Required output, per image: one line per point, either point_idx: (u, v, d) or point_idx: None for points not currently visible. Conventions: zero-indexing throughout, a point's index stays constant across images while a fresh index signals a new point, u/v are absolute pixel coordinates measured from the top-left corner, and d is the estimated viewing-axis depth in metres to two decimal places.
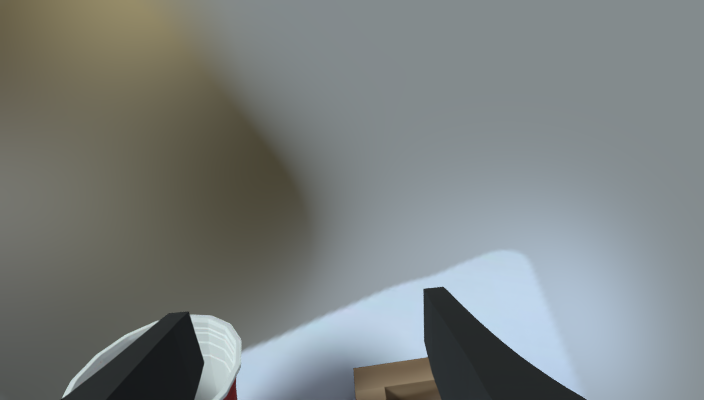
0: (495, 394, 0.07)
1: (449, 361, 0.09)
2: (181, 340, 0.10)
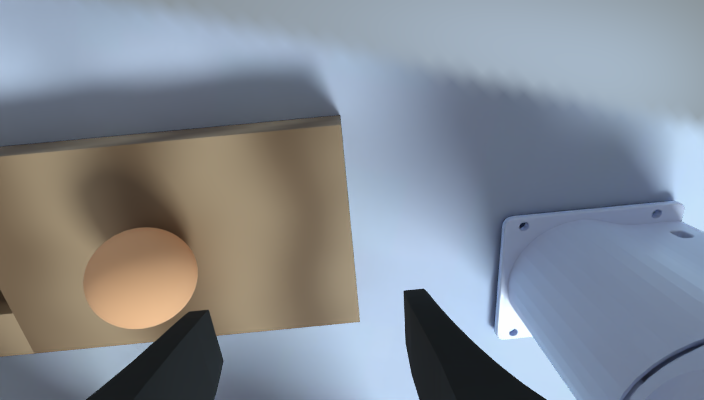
0: (462, 397, 0.07)
1: (425, 363, 0.09)
2: (202, 338, 0.10)
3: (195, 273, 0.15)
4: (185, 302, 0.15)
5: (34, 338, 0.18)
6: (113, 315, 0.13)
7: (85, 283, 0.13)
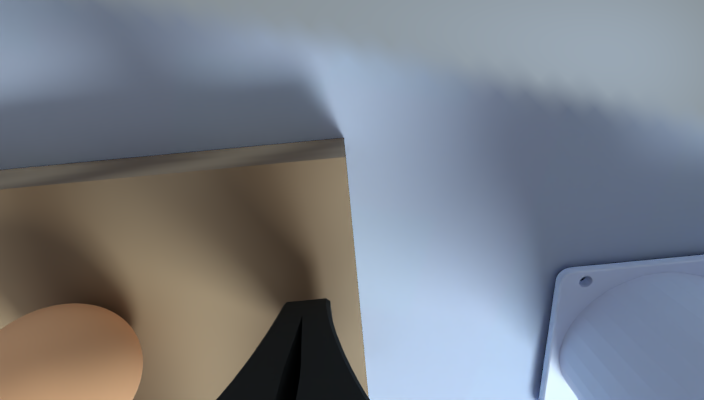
0: None
1: None
2: None
3: (135, 370, 0.10)
4: None
5: None
6: None
7: None
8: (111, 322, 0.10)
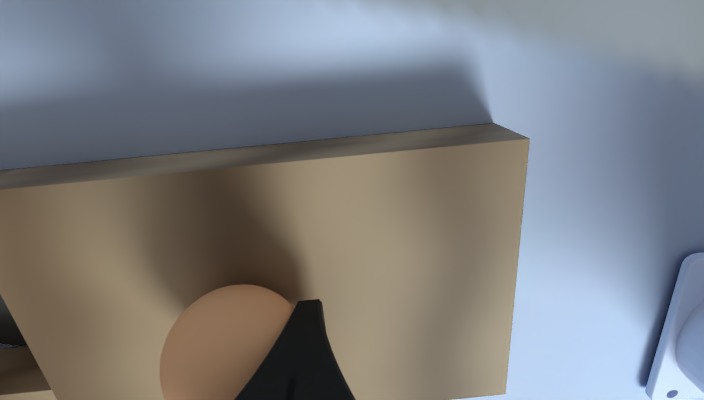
0: None
1: None
2: None
3: None
4: None
5: None
6: None
7: (162, 373, 0.09)
8: (287, 307, 0.10)
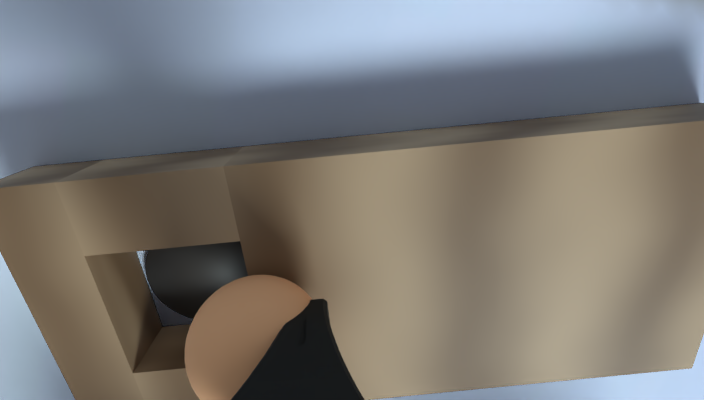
0: None
1: None
2: None
3: None
4: None
5: None
6: None
7: None
8: (201, 307, 0.11)
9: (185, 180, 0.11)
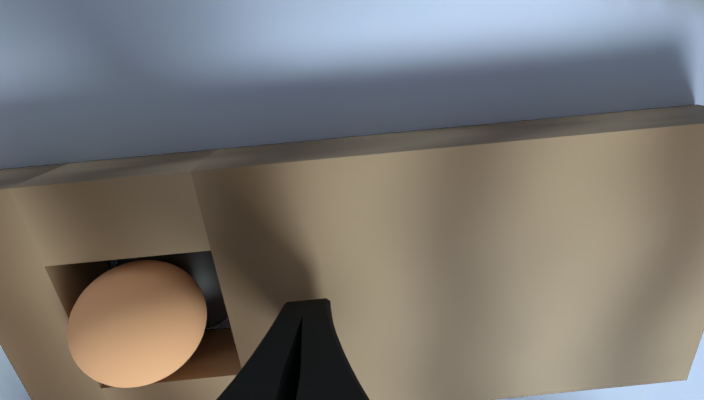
0: None
1: None
2: None
3: (204, 298, 0.13)
4: (203, 333, 0.13)
5: None
6: (141, 369, 0.11)
7: (88, 345, 0.10)
8: (176, 266, 0.13)
9: (150, 186, 0.10)
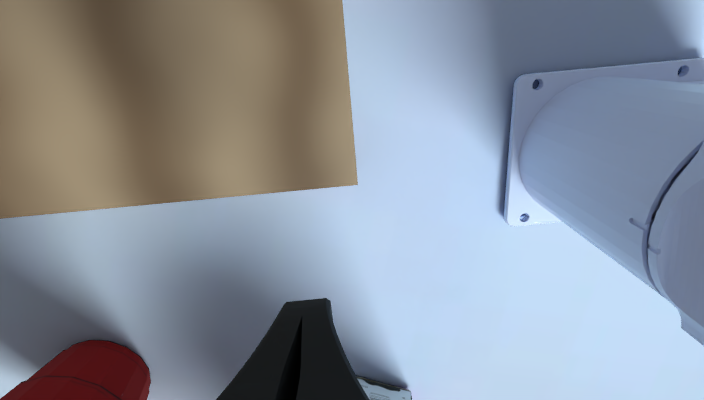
0: None
1: None
2: None
3: None
4: None
5: None
6: None
7: None
8: None
9: None
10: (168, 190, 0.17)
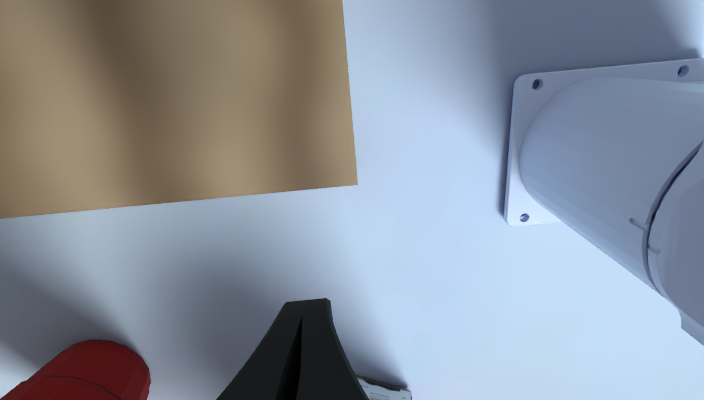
0: None
1: None
2: None
3: None
4: None
5: None
6: None
7: None
8: None
9: None
10: (168, 190, 0.17)
